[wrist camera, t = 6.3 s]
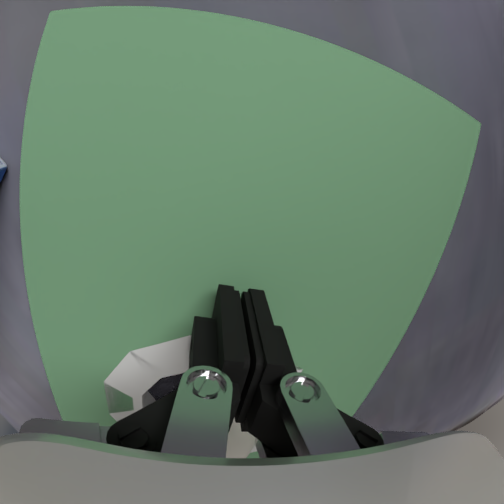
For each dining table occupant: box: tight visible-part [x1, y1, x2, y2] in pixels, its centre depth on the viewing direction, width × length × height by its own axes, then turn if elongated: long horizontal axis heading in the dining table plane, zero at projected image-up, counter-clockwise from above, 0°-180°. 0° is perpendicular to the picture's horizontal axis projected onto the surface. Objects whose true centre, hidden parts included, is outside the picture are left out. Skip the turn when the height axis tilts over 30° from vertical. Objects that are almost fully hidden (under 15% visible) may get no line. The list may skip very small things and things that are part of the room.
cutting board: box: [20, 6, 481, 458], centre depth 13 cm, size 18×23×2 cm
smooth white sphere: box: [226, 418, 255, 458], centre depth 14 cm, size 5×5×5 cm
